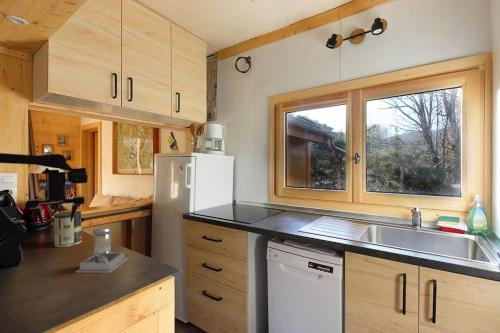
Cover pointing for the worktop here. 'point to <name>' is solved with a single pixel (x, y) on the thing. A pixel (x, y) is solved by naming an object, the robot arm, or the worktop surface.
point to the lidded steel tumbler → (102, 244)
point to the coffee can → (67, 229)
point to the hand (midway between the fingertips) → (57, 222)
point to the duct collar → (101, 264)
